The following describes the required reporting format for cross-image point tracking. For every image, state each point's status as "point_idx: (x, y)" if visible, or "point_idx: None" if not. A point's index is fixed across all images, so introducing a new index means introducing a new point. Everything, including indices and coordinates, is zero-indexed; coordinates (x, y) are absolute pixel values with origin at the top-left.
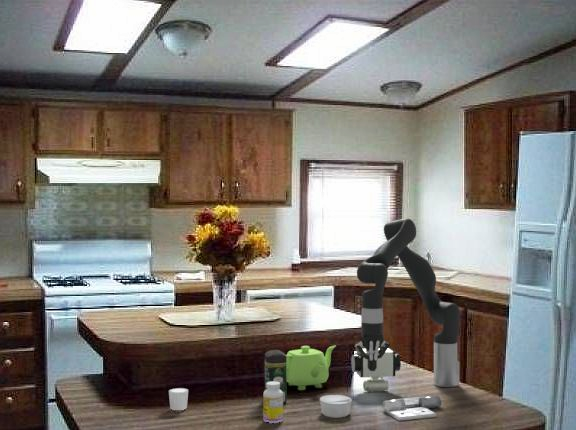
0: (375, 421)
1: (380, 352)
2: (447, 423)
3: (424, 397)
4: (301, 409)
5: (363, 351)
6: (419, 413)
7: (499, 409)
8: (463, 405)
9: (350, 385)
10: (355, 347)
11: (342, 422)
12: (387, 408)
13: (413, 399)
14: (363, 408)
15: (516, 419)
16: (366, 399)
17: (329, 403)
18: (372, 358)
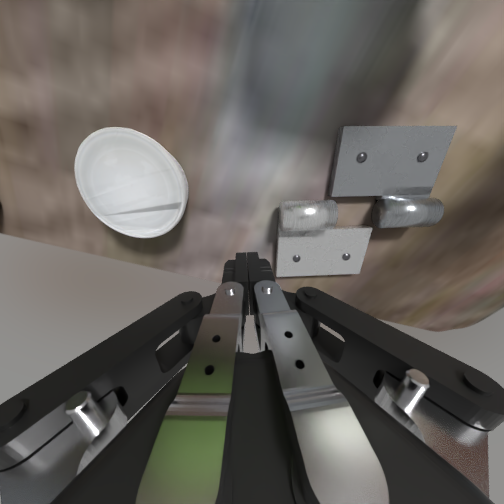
0: None
1: (319, 351)
2: (346, 302)
3: (400, 218)
4: (43, 101)
5: (149, 391)
6: (329, 266)
7: (498, 259)
8: (473, 213)
9: None
10: (27, 399)
11: (158, 251)
12: (280, 227)
13: (403, 150)
14: (241, 159)
15: (458, 310)
16: (294, 48)
17: (107, 225)
18: (241, 328)
